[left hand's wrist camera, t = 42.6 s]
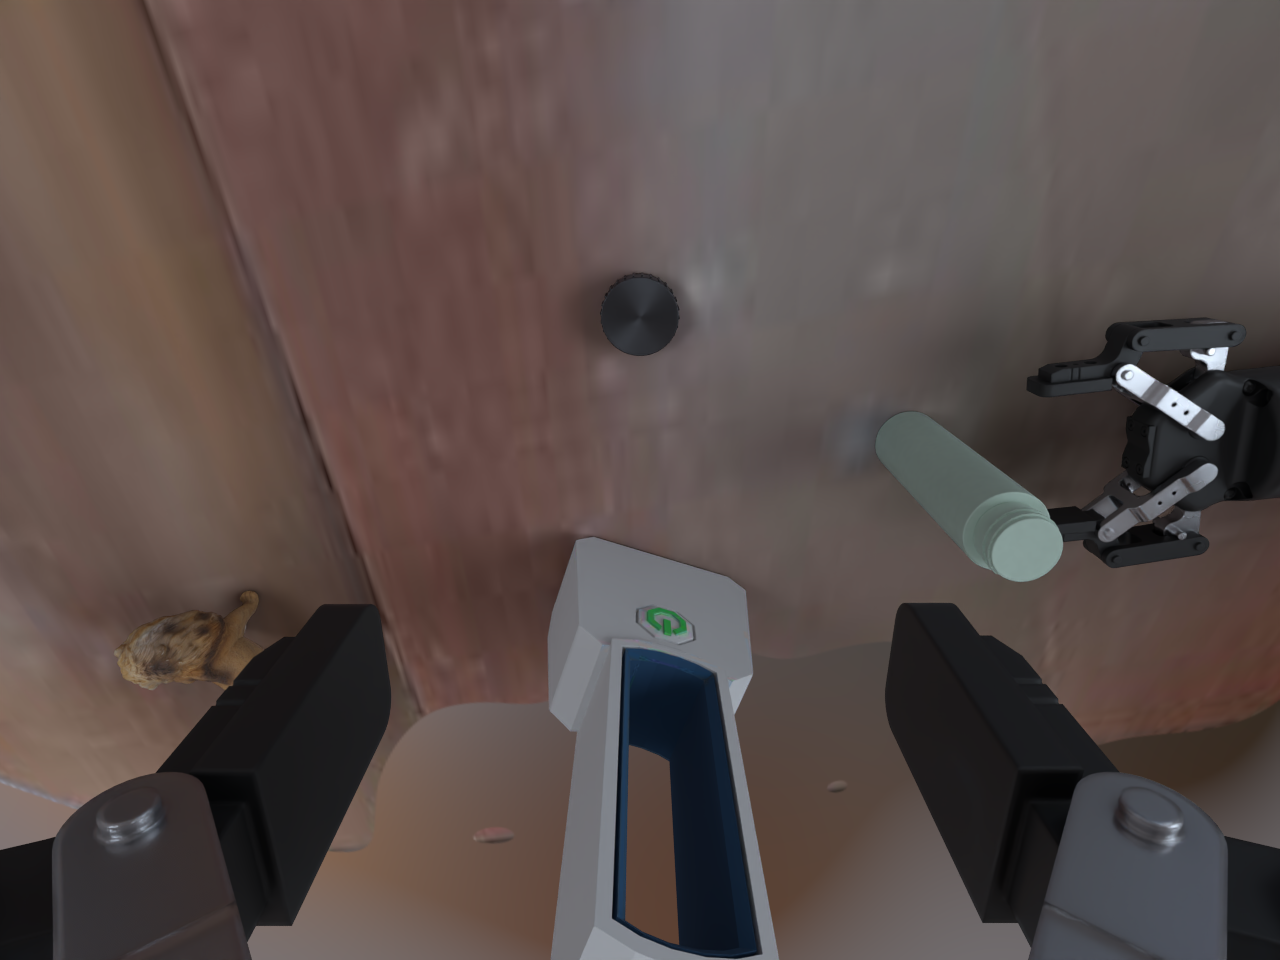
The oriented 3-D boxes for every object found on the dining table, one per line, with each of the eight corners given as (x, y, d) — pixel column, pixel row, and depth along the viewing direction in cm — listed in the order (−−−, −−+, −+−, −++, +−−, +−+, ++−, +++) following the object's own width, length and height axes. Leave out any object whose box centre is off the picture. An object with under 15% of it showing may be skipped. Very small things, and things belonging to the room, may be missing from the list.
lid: (596, 342, 47) (594, 350, 45) (607, 266, 45) (606, 269, 43) (670, 355, 47) (671, 363, 45) (684, 279, 45) (686, 283, 43)
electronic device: (744, 578, 53) (864, 1011, 25) (708, 662, 55) (779, 1140, 27) (578, 528, 51) (505, 927, 23) (549, 616, 54) (451, 1072, 26)
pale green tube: (918, 398, 48) (1047, 490, 33) (950, 446, 49) (1090, 557, 34) (862, 436, 49) (963, 544, 34) (896, 483, 50) (1008, 607, 35)
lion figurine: (171, 608, 53) (84, 684, 45) (206, 557, 52) (122, 627, 44) (345, 712, 57) (294, 802, 48) (382, 668, 55) (336, 752, 47)
